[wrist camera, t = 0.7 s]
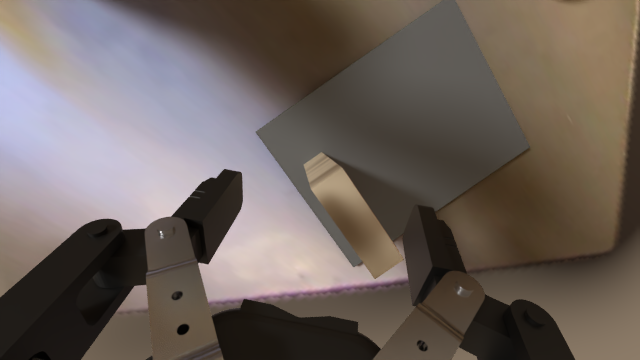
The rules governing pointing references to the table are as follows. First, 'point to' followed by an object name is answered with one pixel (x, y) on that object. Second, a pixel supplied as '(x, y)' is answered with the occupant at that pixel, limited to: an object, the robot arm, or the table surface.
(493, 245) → the table surface
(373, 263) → the wooden block
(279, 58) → the table surface
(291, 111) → the mat
